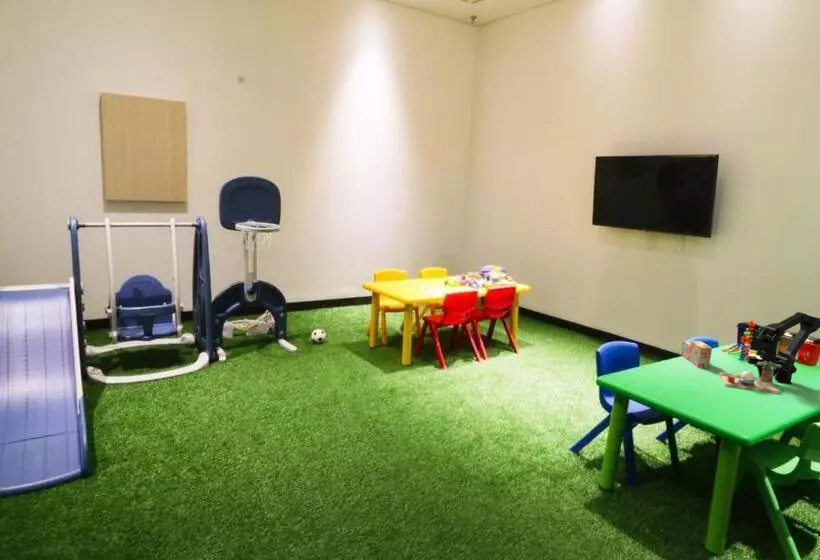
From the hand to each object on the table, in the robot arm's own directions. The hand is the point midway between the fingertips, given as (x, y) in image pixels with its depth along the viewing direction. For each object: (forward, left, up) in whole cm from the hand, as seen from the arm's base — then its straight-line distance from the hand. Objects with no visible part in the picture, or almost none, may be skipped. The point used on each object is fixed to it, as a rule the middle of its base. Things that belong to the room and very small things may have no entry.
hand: (765, 377), depth 284 cm
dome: (+11, +11, 0) cm, 16 cm away
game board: (+9, +6, -3) cm, 11 cm away
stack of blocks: (+31, -22, -3) cm, 38 cm away
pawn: (0, 0, -1) cm, 1 cm away
